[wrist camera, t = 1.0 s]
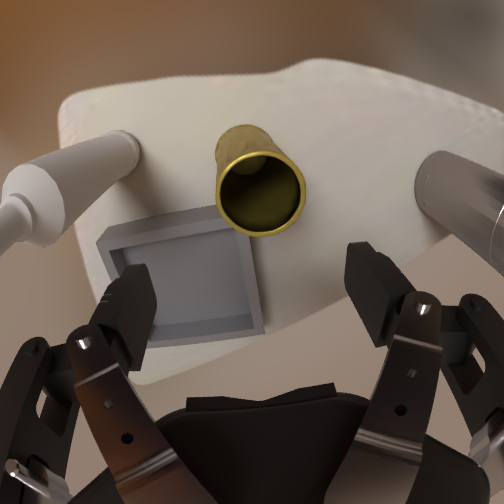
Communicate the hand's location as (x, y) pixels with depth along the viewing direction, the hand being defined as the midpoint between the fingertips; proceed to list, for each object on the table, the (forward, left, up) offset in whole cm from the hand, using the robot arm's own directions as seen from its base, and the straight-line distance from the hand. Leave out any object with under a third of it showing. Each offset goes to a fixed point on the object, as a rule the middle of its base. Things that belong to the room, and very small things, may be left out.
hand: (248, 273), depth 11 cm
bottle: (+12, -4, -21) cm, 24 cm away
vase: (-1, -1, -21) cm, 21 cm away
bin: (+8, +12, -20) cm, 25 cm away
